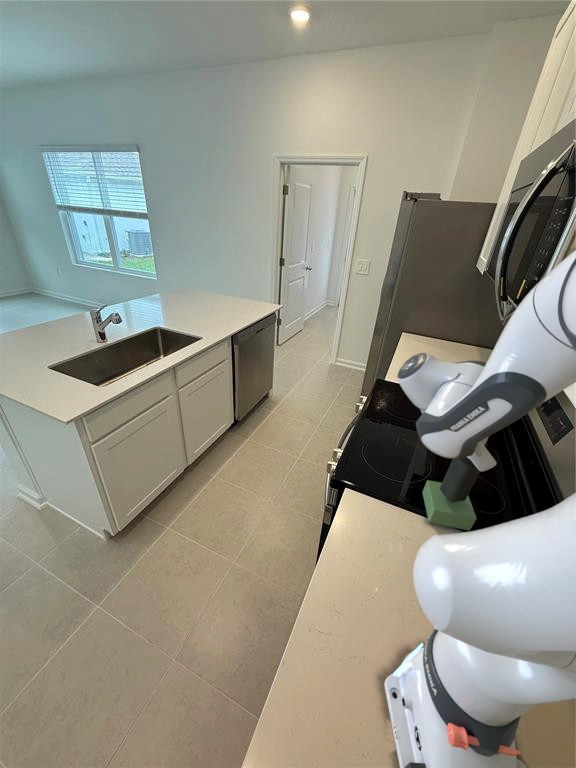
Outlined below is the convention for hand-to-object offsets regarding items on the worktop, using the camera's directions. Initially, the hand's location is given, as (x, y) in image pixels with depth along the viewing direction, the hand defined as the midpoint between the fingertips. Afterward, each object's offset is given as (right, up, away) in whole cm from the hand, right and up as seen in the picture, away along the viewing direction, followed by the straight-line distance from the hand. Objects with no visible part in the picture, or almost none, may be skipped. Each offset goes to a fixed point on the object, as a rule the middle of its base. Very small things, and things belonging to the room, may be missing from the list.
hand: (476, 449), depth 72 cm
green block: (-2, -19, +11) cm, 22 cm away
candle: (-2, -13, +8) cm, 16 cm away
